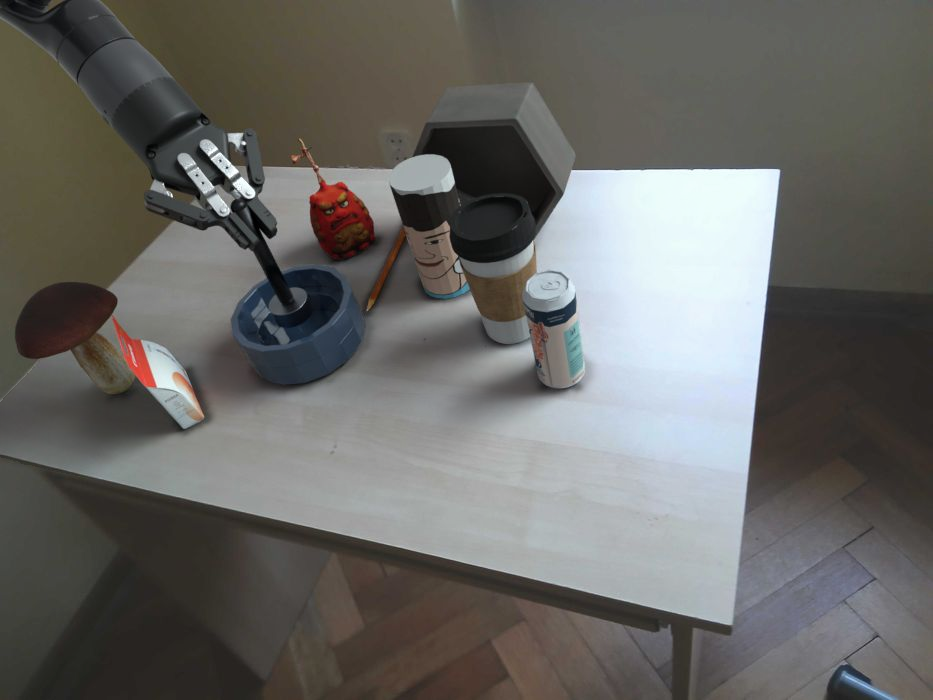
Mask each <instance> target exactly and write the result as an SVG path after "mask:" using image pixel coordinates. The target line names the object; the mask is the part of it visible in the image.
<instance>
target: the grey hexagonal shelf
mask: <svg viewBox="0 0 933 700" xmlns="http://www.w3.org/2000/svg"><path fill="white" fill-rule="evenodd" d="M427 154H435V155H439V156H443V157H444V158H446V159H448V161H449V163H450V165H451V169H452V173H453V177H454V181H455V185H456V189H457V193H458V197H459V201H460V205H462V204H464V203H465V202H467V201H469V200H471V199H474V198H477V197H480V196H484V195H490V194H499V193H507V194H515V195H519V196H521V197H523V198H524V199H525V200H526V201H527V203H528V205H529V208H530V211H531V214H532V216H533V217H534V219H535V225H536V235H535V238H534V239H533V241H534V242H535V240H536V238H537V236H538V234H539V233H540V232H541V230H542V228H544V225H545V224H546V223H547V221H548V220H549V218H550V216H551V215H552V213H553V212H554V210H555V209H556V207H557V206H558V205H559V203H560V201H561V200H562V198H563V196H564V195H565V192H566V189H567V186H568V183H569V180H570V176H571V172H572V170H573V166H574V164H575V161H576V157H577V154H576V152H575V151H574V149H573V147H572V146H571V144H570V141H568V139H567V137H566V136H565V133H564V132H563V131H562V128H561V127H560V125H559V124H558V122H557V120H556V119H555V118H554V116H553V114H552V112H551V110H550V109H549V107H548V106H547V104H546V102H545V100H544V99H543V97H542V95H541V94H540V93H539V91H538V89H537V87H536V85H535V84H534V83H533V82H532V81H530V82H529V81H528V82H527V81H526V82H513V83H495V84H493V83H492V84H480V85H479V84H477V85H463V86H462V85H461V86H448V87H446V88H444V91H443V93H442V94H441V96H440V98H439V100H437V102H436V105H435V106H434V108H433V109H432V111H431V114H430V115H429V117H428V118H427V120H426V122H425V124H424V126H423V128H422V131H421V133H420V137H419V139H418V141H417V144H416V147H415V149H414V151H413V154H412V157H415V156H420V155H427Z"/></svg>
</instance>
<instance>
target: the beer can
mask: <svg viewBox="0 0 933 700" xmlns="http://www.w3.org/2000/svg"><path fill="white" fill-rule="evenodd" d="M522 298H523V303H524V308H525V313H526V318H527V323H528V328H529V333H530V338H529V339H530V343H531V348H532V352H533V357H534V363H535V367H536V368H535V369H536V373H537V377H538V378H539V380H540V381H541V382H542V383H543V384H544V385H546V386H547V387H550V388H553V389H566V388H569V387H572V386H574V385H576V384H577V383H579V382H580V381H581V380H582V379H583V377H584V376H585V373H586V363H585V357H584V350H583V340H582V333H581V325H580V316H579V310H578V309H579V308H578V301H577V293H576V286H575V283H574V282H573V281H572V280H571V279H570V278H569V277H568V276H567V275H566V274H565V273H563V271H559V270H553V269H552V270H551V269H546V270H543V271H539V272H537V273H536V274H534V275H533V276H532V277H531V278H530V279H529V280H528V281H527V284H526V286H525V288H524V290H523V293H522Z"/></svg>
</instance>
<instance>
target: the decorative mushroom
mask: <svg viewBox="0 0 933 700" xmlns="http://www.w3.org/2000/svg"><path fill="white" fill-rule="evenodd" d="M118 302H119V300H118V297H117V295H115V293H113V292H112V291H110V290H109V289H106V288H104V287H102V286H100V285H99V286H98V285H96V284H92V283H89V282H78V281H62V282H61V281H60V282H56V283H53V284H49V285H47V286H45V287H43V288H40V289H39V290H38V291H36V292H35V293H34V294H33V295H32V296H31V297H30V298H29V299H28V300H27V301H26V303H25V304H24V306H23V307H22V310H21V312H20V314H19V315H18V317H17V320H16V323H15V327H14V329H15V330H14V338H15V340H14V341H15V345H16V350H17V352H18V353H19V355H20V356H22V357H24V358H25V359H31V360H39V359H45V358H50V357H53V356H57V355H60V354H63V353H66V352H69V351H70V352H71V353H72V355H73V356H74V358H75V360H76V362H77V363H78V365H79V366H80V368H81V369H82V370H83V371H84V373H85V374H86V375H87V377H88V378H89V379H90V380H91V381H92V382H93V383H94V384H95V386H96V387H97V388H98V389H100V390H102V391H103V392H104V393H106V394H108V395H118V394H121V393H124V392H126V391H128V390H129V388H130V387H131V386H133V384H134V382H135V380H136V376H135V374H134V373H133V372H132V370H131V369H130V367H129V366H128V365H127V363H126V362H125V359H124V356H123V353H122V352H120V351H119V350H118V349H117V347H116V346H114V344H113V343H112V342H111V341H110V340H108V338H106V337H105V336H104V335H103V334H102V333H100V332H99V330H100V329H101V328H102V327H103V326H104V325H105V324H106V323H107V321H108V320H109V319H110V318H111V314H112V315H113V313H114V312H115V310H116V308H117V306H118Z"/></svg>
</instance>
